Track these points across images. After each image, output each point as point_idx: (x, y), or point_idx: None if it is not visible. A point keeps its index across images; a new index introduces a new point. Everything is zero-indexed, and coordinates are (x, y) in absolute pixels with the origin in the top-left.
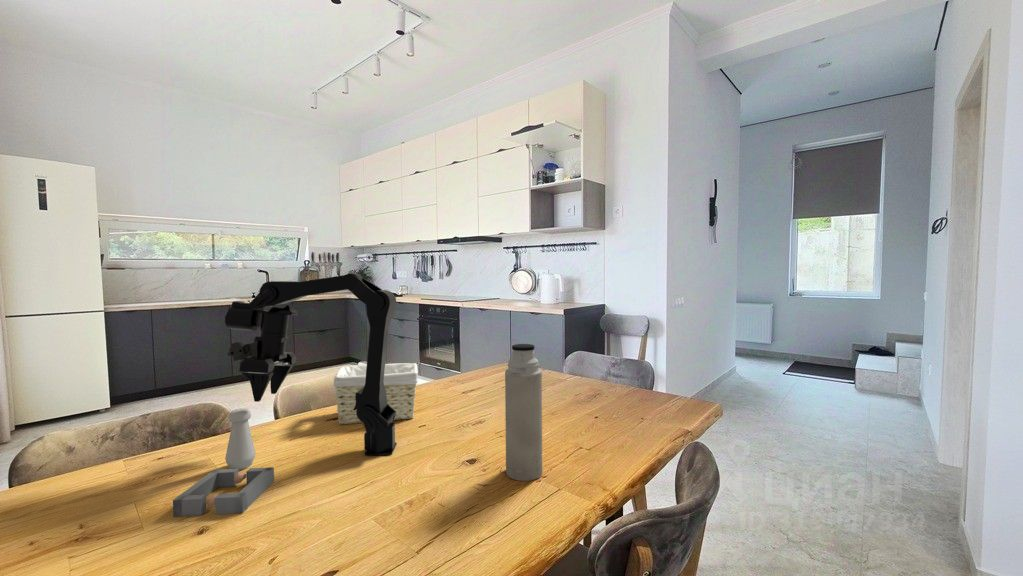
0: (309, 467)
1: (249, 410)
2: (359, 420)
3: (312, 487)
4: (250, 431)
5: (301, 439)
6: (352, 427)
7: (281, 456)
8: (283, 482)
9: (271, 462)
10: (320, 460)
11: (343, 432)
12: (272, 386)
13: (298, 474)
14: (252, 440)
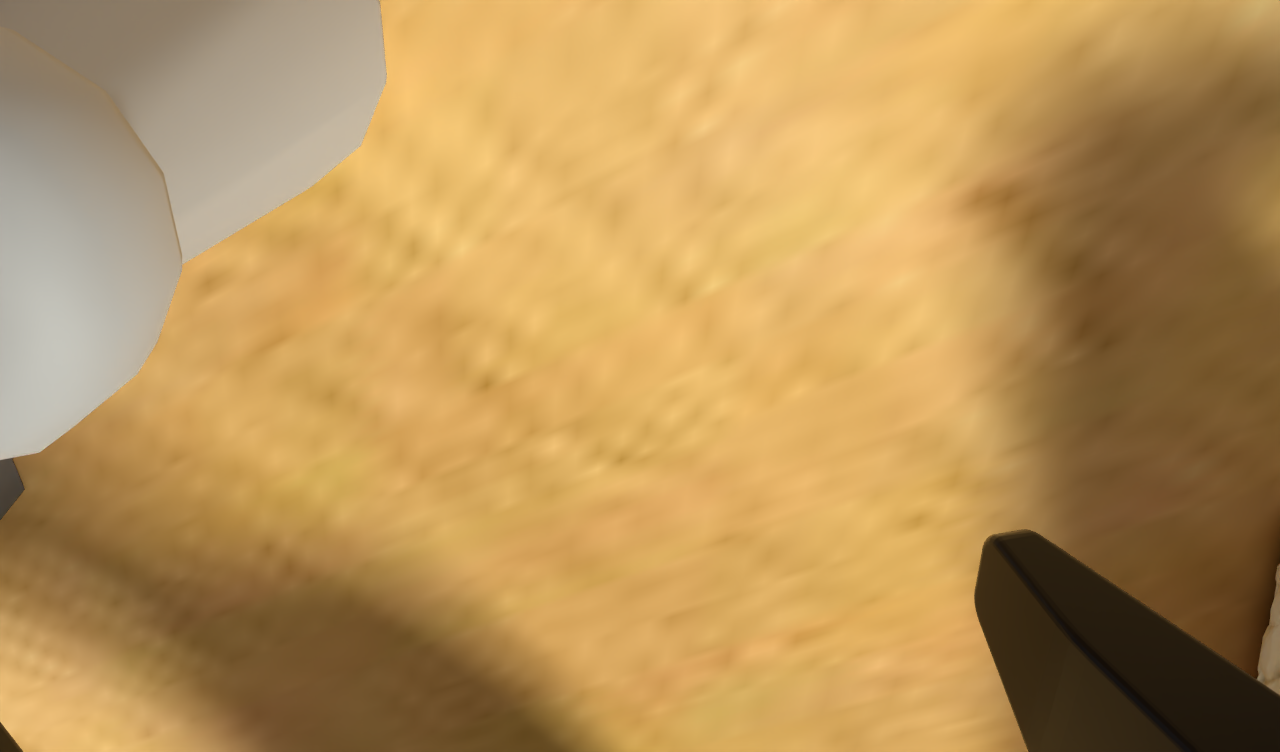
0: (309, 618)
1: (34, 443)
2: (1261, 679)
3: None
4: (188, 260)
5: (970, 306)
6: None
7: (527, 311)
8: (28, 556)
9: (384, 285)
10: (442, 640)
11: None
12: (1092, 701)
13: (178, 596)
14: (245, 225)
